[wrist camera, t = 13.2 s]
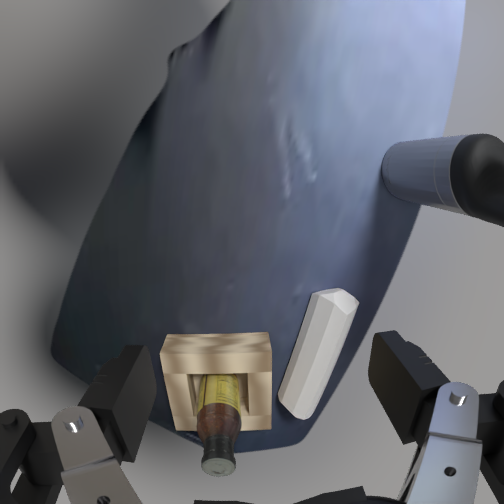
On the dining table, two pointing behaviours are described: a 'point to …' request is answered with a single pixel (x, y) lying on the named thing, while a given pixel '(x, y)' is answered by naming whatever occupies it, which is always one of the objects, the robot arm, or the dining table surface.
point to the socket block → (218, 362)
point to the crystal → (317, 350)
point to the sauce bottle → (219, 422)
